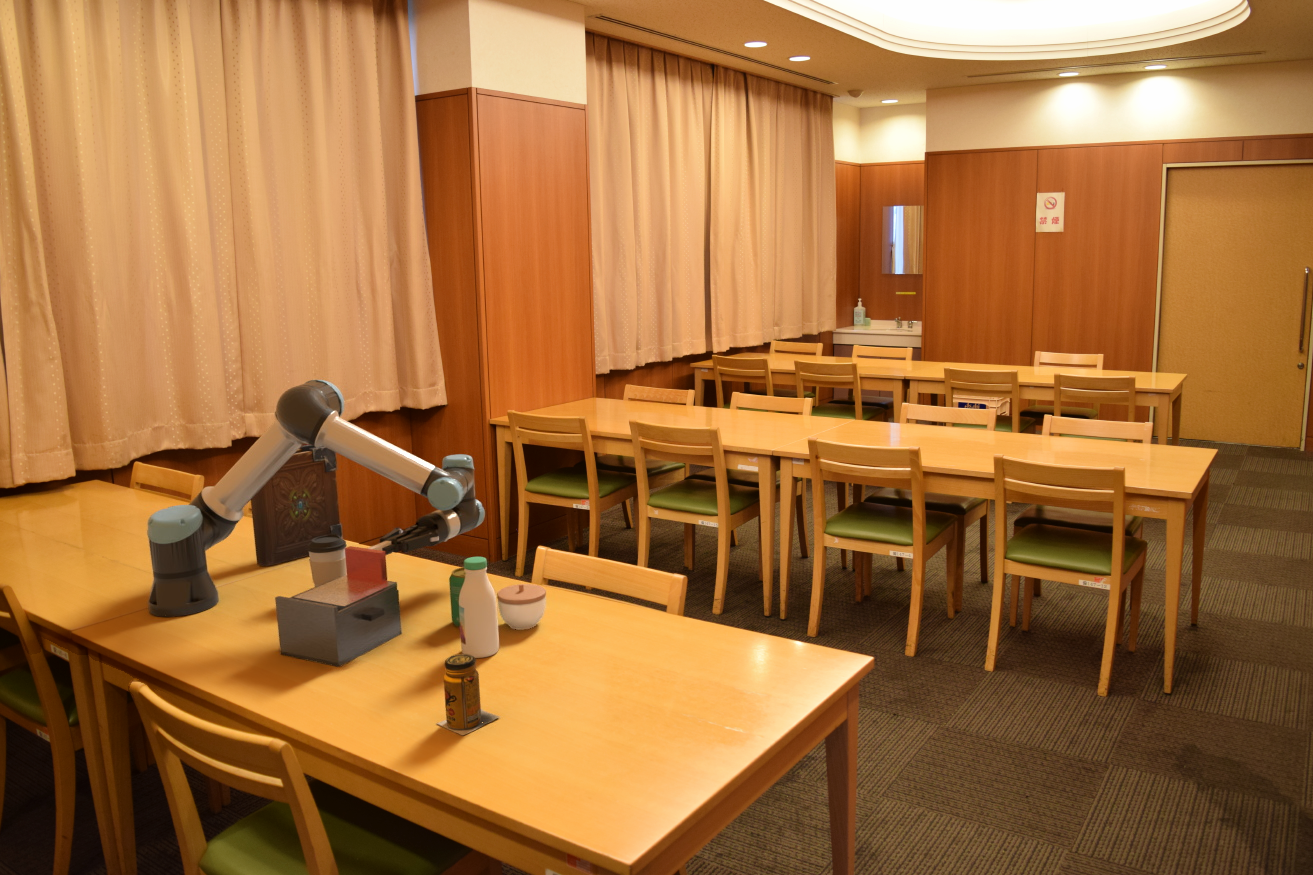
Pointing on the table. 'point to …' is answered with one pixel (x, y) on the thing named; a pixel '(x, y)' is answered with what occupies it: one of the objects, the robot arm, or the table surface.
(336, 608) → the gray drawer chest
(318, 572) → the coffee cup
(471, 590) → the milk bottle
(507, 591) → the lidded jar
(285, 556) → the decorative book
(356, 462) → the robot arm
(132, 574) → the table surface
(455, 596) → the beverage can
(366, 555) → the lid
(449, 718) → the condiment
